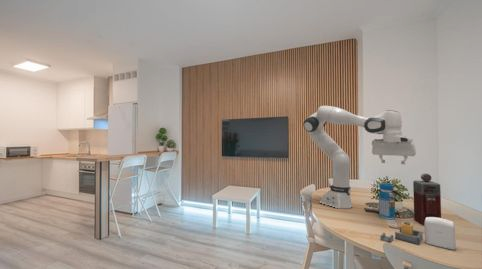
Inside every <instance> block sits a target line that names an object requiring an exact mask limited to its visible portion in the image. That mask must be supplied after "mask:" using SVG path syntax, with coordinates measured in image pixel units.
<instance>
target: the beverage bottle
mask: <svg viewBox="0 0 482 269" xmlns="http://www.w3.org/2000/svg"><path fill="white" fill-rule="evenodd" d="M379 189H380V191H379V193H378V196H379V197H378V210H379V211H378V213H379V214H378V216H379V217H380V218H382V219H386V220H395V218H396V199H395V197H396V196H395V194H394V192H393V191H394V185H393V184H391V183H380V184H379Z"/></svg>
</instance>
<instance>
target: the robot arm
mask: <svg viewBox="0 0 482 269" xmlns="http://www.w3.org/2000/svg"><path fill="white" fill-rule="evenodd" d="M402 122H403V121H402V115H401V113H400V112H399V111H396V110H391V109H390V110H388V109H387V110H384V111H382V112H381V113H379V114H377V115H375V116H372V117H369V118H368V117H365V116H360V115H357V114H354V113H352V112H349V111H347V109H346V110H345V109H343V108H341V107H337V106H333V105H332V106H331V105H320V106H319V107H318V108H317V110H316V112H313V113H312V114H311V115H310V116H308V117H307V118H305V120H304V121H303V124H302V126H303V129H304V130H305V131H306V132H308V136H309V137H310V138H311V140H312V141H313V143H314V144H315V145H316V146H317V147H318V148H319V149H320V150H321V151H322V152H323V153H324V154H325V155H326V156H327V157H328V159H330V160H331V161H332V185H330V186H329V189H330V190H328V191H326V193H324V194H323V195H322V199H320V200H319V201H321V202H318V204H319V203H322V204H321V205H323V204H326V205H329V206H332V207H331V208H333V207H335V208H334V209H337V208H338V209H351V207H352V206H353V203H352V200H351V199H352V198H351V192H352V190H351V184H350V172H351V171H350V167H351V166H350V165H351V160H350V156H349V154H348V153H347V152H346V151H344V150H343V149H342V148H341V146H340V145H339V144H338V143H337V142H335V140H334V139H333V138H332V137H331V136H330V135H329V134H328V133H327V132H326V130H324V127H325V126H326V124H327V123H330V124H333V125H351V126H357V127H361V128H364V130H365V131H366V132H367V133H370V134H376V135H382V138H375V139H373V140H372V141H371V146H372V149H371V153H372V155H373V156H374V155H375V156H378V157H379V160H380V161H381V164H385V163H386V159H383V157H384V156H396V157H398V156H399V157H403V159H402V160H400V164H401V165H406V161H407V159H409V158H408V157H415V156H416V153H417V151H416V147H415V144H414V143H413V138H411V137H407V136H403V132H402V126H403V125H402V124H403V123H402ZM326 205H325V206H326ZM329 206H328V207H329ZM352 208H353V207H352Z"/></svg>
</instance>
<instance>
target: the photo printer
mask: <svg viewBox="0 0 482 269" xmlns="http://www.w3.org/2000/svg"><path fill="white" fill-rule="evenodd" d="M424 224H425V226H424V242H425V243H426V244H427V245H430V246H431V245H432V246H434V247H439V248H444V249H449V250H453V251H454V250H456V249H457V244H456V243H457V242H456V240H457V239H456V227H455V224H454V222H453V221H452V220H449V219H445V218H442V217H441V218H438V217H426V219H425V222H424Z"/></svg>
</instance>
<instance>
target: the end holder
mask: <svg viewBox="0 0 482 269" xmlns="http://www.w3.org/2000/svg"><path fill="white" fill-rule="evenodd" d="M423 235H424V234H423V231H420V230H416V229H413V236H410V235H406V234H402V233H401V226H399V232H398V231H395V232H394V236H395V237H394V238H395V240H398V241H401V242H402V241H403V242H406V243H408V244H409V243H410V244H412V245H413V244H414V245H417V246H420V244H421V243H422V241H423V238H424V237H423Z"/></svg>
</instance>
